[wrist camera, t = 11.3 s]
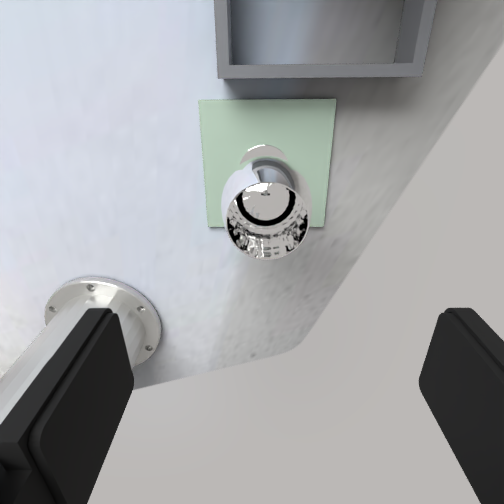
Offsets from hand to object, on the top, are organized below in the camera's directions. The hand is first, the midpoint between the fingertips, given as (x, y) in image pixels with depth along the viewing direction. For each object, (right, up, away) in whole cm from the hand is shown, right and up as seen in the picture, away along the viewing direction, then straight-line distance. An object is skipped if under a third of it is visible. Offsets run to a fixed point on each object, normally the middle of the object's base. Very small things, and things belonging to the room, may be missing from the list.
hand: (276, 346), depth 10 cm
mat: (+1, +10, +19) cm, 22 cm away
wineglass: (0, +10, +19) cm, 22 cm away
